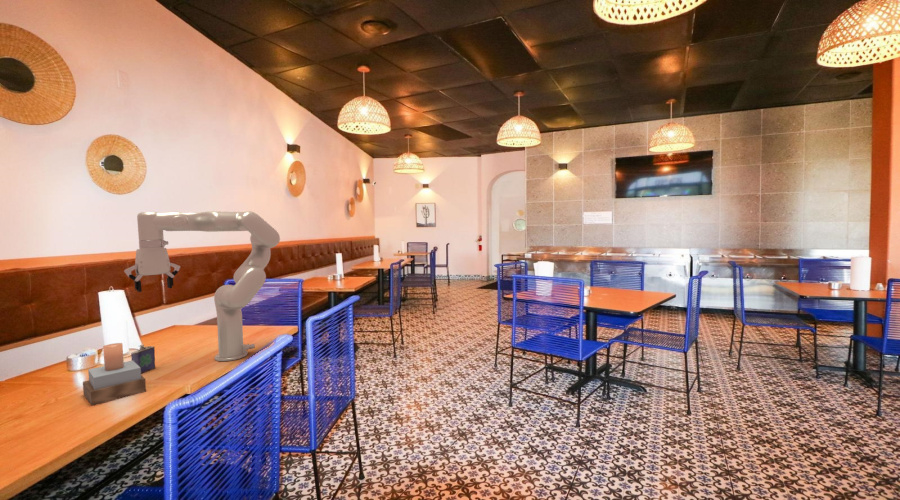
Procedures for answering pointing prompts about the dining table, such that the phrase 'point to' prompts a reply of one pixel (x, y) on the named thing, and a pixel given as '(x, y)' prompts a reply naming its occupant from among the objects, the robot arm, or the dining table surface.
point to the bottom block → (113, 391)
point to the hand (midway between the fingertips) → (154, 289)
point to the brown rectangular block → (113, 356)
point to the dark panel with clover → (144, 358)
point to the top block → (114, 375)
